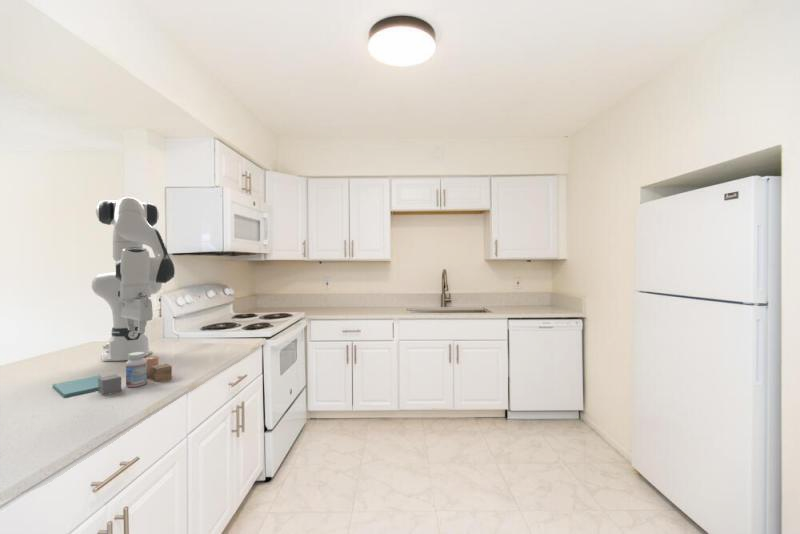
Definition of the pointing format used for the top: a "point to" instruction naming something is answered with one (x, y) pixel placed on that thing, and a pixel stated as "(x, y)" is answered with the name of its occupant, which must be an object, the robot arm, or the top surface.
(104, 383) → the charcoal block
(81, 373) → the top surface
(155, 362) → the peach capsule cylinder
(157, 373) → the walnut block
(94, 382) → the teal board
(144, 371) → the pill bottle
